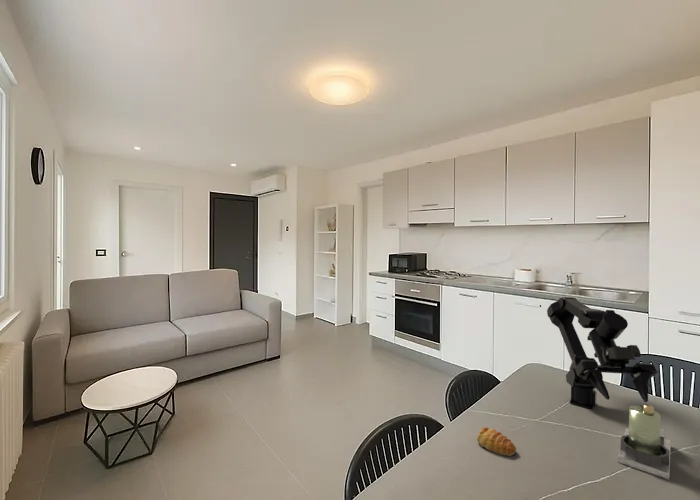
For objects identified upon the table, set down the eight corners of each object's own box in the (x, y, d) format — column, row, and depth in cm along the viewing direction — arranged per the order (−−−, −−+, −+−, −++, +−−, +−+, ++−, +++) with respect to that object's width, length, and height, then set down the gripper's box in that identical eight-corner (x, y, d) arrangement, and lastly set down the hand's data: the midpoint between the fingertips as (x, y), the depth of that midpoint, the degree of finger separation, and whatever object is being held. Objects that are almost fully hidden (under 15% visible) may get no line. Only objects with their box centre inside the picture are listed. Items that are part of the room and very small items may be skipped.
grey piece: (617, 462, 86) (618, 444, 86) (625, 433, 99) (626, 417, 99) (669, 480, 80) (669, 460, 80) (670, 446, 93) (670, 429, 93)
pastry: (520, 450, 91) (520, 436, 91) (508, 461, 87) (508, 446, 87) (486, 435, 98) (486, 422, 98) (474, 444, 94) (474, 431, 94)
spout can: (623, 446, 90) (623, 397, 90) (649, 449, 89) (649, 399, 89) (638, 461, 84) (639, 408, 84) (666, 463, 83) (667, 409, 83)
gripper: (580, 332, 99) (601, 386, 89) (654, 335, 96) (684, 391, 86) (567, 350, 108) (585, 401, 97) (635, 353, 104) (660, 407, 94)
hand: (627, 400), depth 93 cm, fingers open, 9 cm apart
